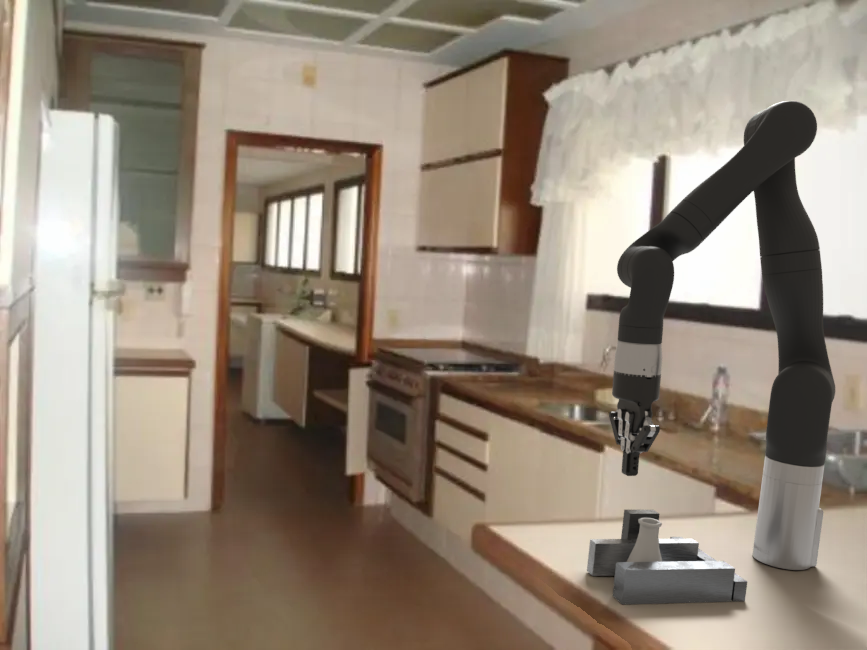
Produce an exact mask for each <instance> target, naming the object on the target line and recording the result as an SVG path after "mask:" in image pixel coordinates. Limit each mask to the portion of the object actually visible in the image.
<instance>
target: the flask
mask: <svg viewBox="0 0 867 650" xmlns="http://www.w3.org/2000/svg"><path fill="white" fill-rule="evenodd" d="M638 522H639V523H640V529H639V534H638V538H637V541H636V544H635V546H634V548H633V550H632V552H631V554H630V556H629V558H628V560H627V562H662V558H661V553H660V549H659V539H660V537H659V535H660V533H659V532H660V528H661V527H662V525H663V523H662V521H660V519H659V520H656V519H653V518H641V519H638Z"/></svg>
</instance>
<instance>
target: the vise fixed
mask: <svg viewBox="0 0 867 650" xmlns="http://www.w3.org/2000/svg"><path fill="white" fill-rule="evenodd" d="M669 539H685V538H684V537H683V536H670V538H669ZM747 588H748V580H746V579H745V578H743V577H741V576H740V575H739V574H737V573H736V567H734V566H732V565H731V564H729V563H728V562H726V561H725V560H716V559H715V558H713V557H712V556H711V555H709V554H707V553H706V552H705V551H703V550H702V549H701V548H700V547H698V555H697V561H672V562H616V569H615V575H614V580H613V588H612V597H613V598H614V599H616V601H617V602H619V604H621V605H653V604H657V605H658V604H685V603H686V604H687V603H689V604H690V603H721V602H722V603H723V602H725V603H726V602H727V603H728V602H731V603H732V602H745V601H746V596H747Z"/></svg>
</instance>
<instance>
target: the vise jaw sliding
mask: <svg viewBox="0 0 867 650" xmlns="http://www.w3.org/2000/svg"><path fill="white" fill-rule="evenodd" d="M622 517H623V520H622V526H621V536H620V538H590V539H589V546H588V547H589V548H588V555H587V557H588V558H587V566H586V572H588V573H589V575H591V577H599V576H600V577H601V576H604V577H605V576H606V577H607V576H608V577H609V576H615V569H616V562H627V560H628V558H629V556H630V554H631V552H632V550H633V548H634V546H635V544H636V541H637V538H638V534H639V529H640V523H639V522H638V519H641V518H653V519H656V520H659V521H660V513H659V512H657V511H656V510H654V509H623V516H622ZM699 545H700V542H698V541H697V540H695V539H694V538H688V537H687V538H684V539H670V538H659V549H660V553H661V558H662V562H672V561H697V555H698V548H700V547H699Z"/></svg>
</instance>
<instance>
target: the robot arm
mask: <svg viewBox="0 0 867 650" xmlns="http://www.w3.org/2000/svg"><path fill="white" fill-rule="evenodd" d="M817 132H818V122H817V117H816V116H815V114H814V112H813V110H812V109H811V108H810V107H809V106H808V105H806V104H804V103H802V102H801V101H797V100H786V101H785V100H784V101H780V102H776V103H774V104H772V105H770V106H768V107H766V108H764V109H762V110H760V111H759V112H756V113H755V114H754V115H752V116H751V118H750V119H749V120H748V122H747V124H746V125H745V128H744V132H743V146H742V147H741V148H740V149H739V150H738V151H737V152H736V154H735V155H733V156H732V157H731V158H730V159H729V160H728V161H727V162H726V163H724V165H723V166H721V167H720V168H718V169H717V170H716V171H715V172H713V174H711V175H710V176H709V177H707V178H706V179H705V180H704V181H702V182H701V183H699V184H698V185H697V186H696V187H695V188H694V189H692V191H690V192H689V193H688V194H687V195H686V196H684V198H683V199H682V200H681V201H680V202H679V203H678V204H677V205H676V206H675V207H674V208H672V210H670V211H669V212H668V214H667V215H666V216H665V217H664V218H663V219H662V220H661V221H660V222H659V223H658V224H656V225H654V227H652V228H650V229H648V231H646V232H645V233H644V234H642V235H641V236H639V237H638V239H636V240H635V241H633V242H632V243H631V244H630V245H629V246H628V247H627V248H626V249H624V251H623V253H622V254H621V255H620V257H619V259H618V260H617V261H618V262H617V265H616V272H617V276H618V278H619V280H620V281H621V282H622V284H624V285H625V286H626V287H628V288H630V293H629V298H628V303H627V305H625V306H623V307H622V308H621V310H620V313H619V317H618V318H619V320H618V329H617V342H616V348H615V353H614V361H613V363H614V364H613V376H612V377H613V378H612V390H611V392H612V393H611V394H612V395H611V396H613V398H615V399H617V400H618V402H617V405H616V407H617V408H616V410H615V411H609V413H608V418H609V421H610V425H611V429H612V433H613V436H614V440H615V444H616V445H617V446H619V445H620V450H621V451H622V461H621V473H622V474H623V475H624V476H627V477H637V475H638V474H639V464H640V455H641V454H642V453H648V451H649V450H650V448H651V447H652V446H653V443H654V442H655V441H656V438H657V436H658V435H659V433H660V432H661V431H660V430H661V428H660V425H657V424H655V425H654V423H653V420H652V418H653V409H652V404H653V403H654V402H657V401H659V399H660V394H661V380H662V379H661V377H662V369H663V368H662V367H663V348H662V346H663V345H662V343H663V334H664V316H665V314H666V310H667V308H668V305H669V302H670V297H671V293H672V290H673V286H674V282H675V281H674V280H675V265H674V261H675V260H677V258H679V257H680V256H682V255H685V254H689V253H691V252H693V251H694V250H695V249H697V248H698V247H699V246H700V245H701V244H702V243H703V242H704V241H705V240H706V239H707V238H708V237H709V236H710V235H711V234H712V233H713V232H714V231H715V230H716V229H717V228H718V227H719V226H720V225H721V224H722V223H723V222H724V221H725V220H726V219H727V218H728V217H729V215H731V214H732V213H733V211H735V209H737V207H738V206H740V205H741V203H742V202H744V200H745V199H746V198H747V197H749V196H750V194H752V193H753V194H754V196H753V197H754V201H755V204H754V205H755V215H756V227H757V233H758V245H759V257H760V258H759V259H760V269H761V277H762V284H763V288H764V289H763V290H764V293H765V296H766V300H767V304H768V307H769V310H770V311H769V312H770V314H771V317H772V320H773V323H774V327H775V331H776V338H777V349H778V352H777V353H778V355H777V357H778V372H777V373H778V374H777V375H776V377H775V379H774V380H773V383H772V386H771V389H770V390H771V391H770V397H769V403H768V413H767V423H766V431H765V432H766V433H765V443H766V444H765V454H764V461H763V469H762V476H761V477H762V479H761V486H760V493H759V501H758V508H757V515H756V523H755V531H754V539H753V547H752V556H753V558H754V559H755V560H757V561H758V562H760V563H762V564H765V565H767V566H771V567H773V568H779V569H783V570H789V571H790V570H791V571H792V570H793V571H804V570H808V569H809V568H811V567H817V566H818V565H817V564H818V558H819V556H818V555H819V548H820V541H821V534H822V527H823V526H822V525H823V519H824V509H822V508H821V507H820V502H821V501H820V500H821V494H822V486H823V480H824V479H823V477H824V471H825V463H826V458H827V450H828V449H827V446H828V445H827V443H828V436H829V427H830V426H829V425H830V419H831V412H832V404H833V402H834V399H835V396H836V384H835V380H834V379H835V378H834V376H833V371H832V367H831V364H830V359H829V355H828V354H829V353H828V349H827V344H826V339H825V333H824V332H825V331H824V284H823V268H822V259H821V248H820V242H819V238H818V235H817V232H816V229H815V227H814V224H813V222H812V220H811V218H810V216H809V215H808V212H807V210H806V208H805V207H804V204H803V202H802V199H801V198H800V194H799V190H798V185H797V175H796V173H797V172H796V158H797V157H799V156H801V155H802V154H804V153H805V152H806V151H807V150H808V149H809V148H810V147H811V146H812V144H813V143H814V141H815V139H816V136H817Z"/></svg>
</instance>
